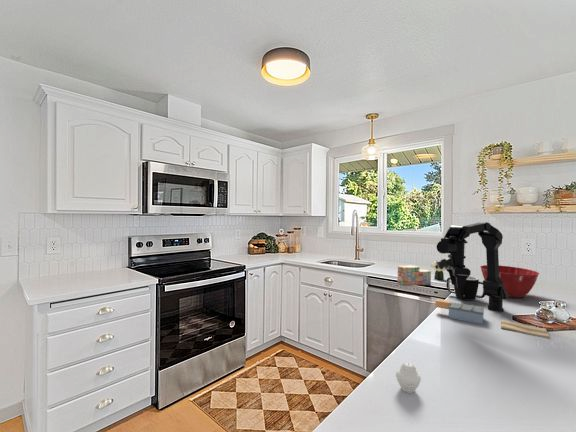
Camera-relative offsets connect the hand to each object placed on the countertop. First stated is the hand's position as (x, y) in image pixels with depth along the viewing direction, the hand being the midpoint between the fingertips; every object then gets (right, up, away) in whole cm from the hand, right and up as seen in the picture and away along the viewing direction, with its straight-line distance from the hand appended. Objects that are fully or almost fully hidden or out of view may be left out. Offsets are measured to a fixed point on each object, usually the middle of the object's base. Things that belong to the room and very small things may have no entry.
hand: (455, 287), depth 137 cm
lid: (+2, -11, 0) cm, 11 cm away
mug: (+23, -14, +32) cm, 42 cm away
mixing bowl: (+55, -15, +42) cm, 71 cm away
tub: (+4, -14, -1) cm, 14 cm away
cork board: (+21, -14, -13) cm, 28 cm away
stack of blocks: (+8, -14, +63) cm, 65 cm away
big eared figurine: (+34, -14, +82) cm, 89 cm away
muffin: (-46, -13, -58) cm, 75 cm away
